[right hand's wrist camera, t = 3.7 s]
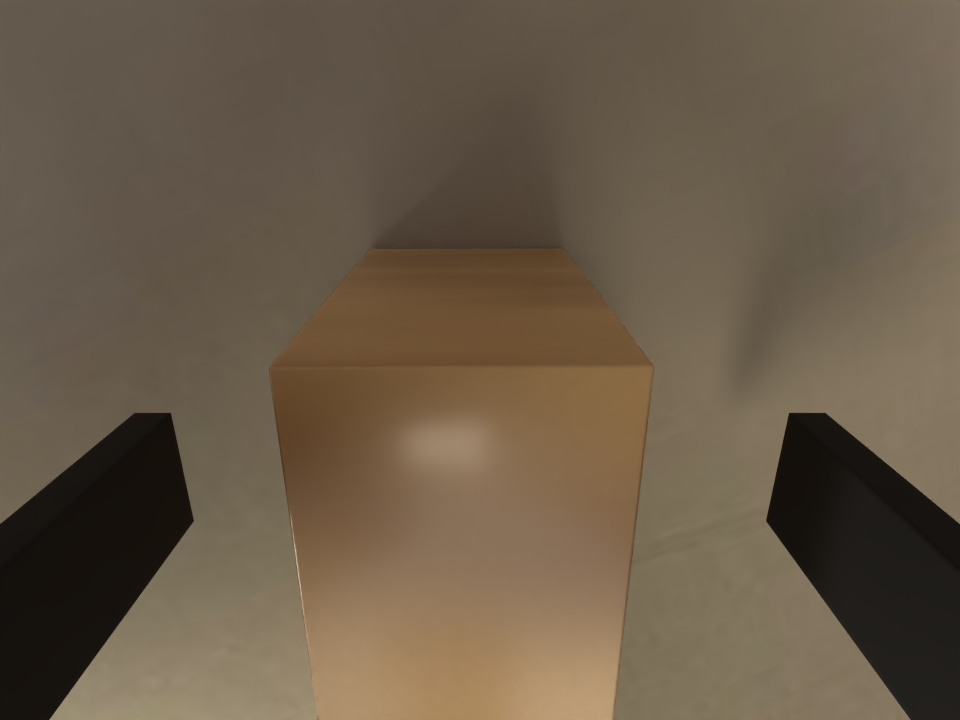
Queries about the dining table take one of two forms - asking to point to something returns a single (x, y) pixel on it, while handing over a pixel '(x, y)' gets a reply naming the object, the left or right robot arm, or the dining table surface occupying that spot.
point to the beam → (463, 486)
